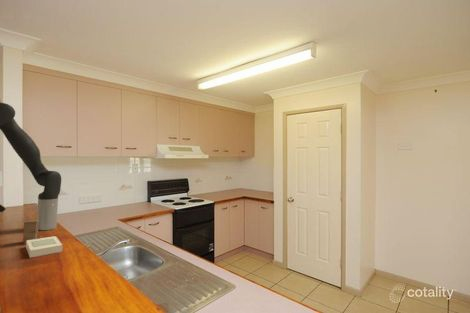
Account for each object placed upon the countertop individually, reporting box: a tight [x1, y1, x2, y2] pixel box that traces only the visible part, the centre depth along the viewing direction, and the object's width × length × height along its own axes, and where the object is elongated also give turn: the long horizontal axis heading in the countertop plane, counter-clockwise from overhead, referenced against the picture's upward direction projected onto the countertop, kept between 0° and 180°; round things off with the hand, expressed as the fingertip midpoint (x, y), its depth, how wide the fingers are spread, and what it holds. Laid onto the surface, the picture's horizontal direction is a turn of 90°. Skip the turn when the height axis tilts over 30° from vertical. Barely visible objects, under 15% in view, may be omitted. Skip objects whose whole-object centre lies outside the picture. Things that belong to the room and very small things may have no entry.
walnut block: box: [22, 219, 39, 245], centre depth 120 cm, size 5×5×10 cm
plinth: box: [25, 235, 63, 259], centre depth 111 cm, size 16×11×3 cm
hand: (0, 212), depth 115 cm, fingers open, 8 cm apart
